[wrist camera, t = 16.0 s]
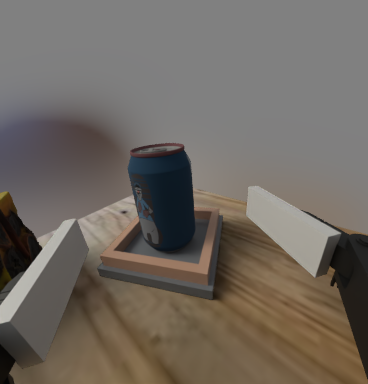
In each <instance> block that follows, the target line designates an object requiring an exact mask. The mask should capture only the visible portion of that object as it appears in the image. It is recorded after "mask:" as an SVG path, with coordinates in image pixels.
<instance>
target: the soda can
mask: <svg viewBox="0 0 368 384" xmlns="http://www.w3.org/2000/svg"><path fill="white" fill-rule="evenodd" d="M130 155H131V159H130V162H129V166H128V173H129V177H130V181H131V186H132V190H133V195H134V199H135V203H136V208H137V212H138V217H139V221H140V225H141V230H142V234H143V238H144V240H145V242H146V243H147V244H148V245H150V246H151V247H152V248H154V249H155V250H157V251H159V252H165V253H169V252H175V251H178V250H180V249H182V248H184V247H185V246H186V245H187V244H188V243H189V242H190V240H191V239H192V237H193V236H194V233H195V230H196V227H195V213H194V199H193V187H192V173H191V161H190V159H189V157H188V155H187V154H186V152H185V151H184V145H183V144H176V143H165V144H155V145H148V146H143V147H139V148H135V149H133V150H131V151H130Z"/></svg>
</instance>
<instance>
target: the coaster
mask: <svg viewBox="0 0 368 384" xmlns="http://www.w3.org/2000/svg"><path fill="white" fill-rule="evenodd" d="M194 213H195V227H196V230H195V233H194V236H193V237H192V239H191V240H190V242H189V243H188V244H187V245H186V246H185V247H184V248H182V249H180V250H178V251H175V252H169V253H165V252H159V251H157V250H155V249H154V248H152V247H151V246H150V245H148V244H147V243H146V242H145V240H144V238H143V234H142V230H141V225H140V221H139V217H138V216H137V217H136V218H135V219H134V220H133V221H132V222H131V223H130V224H129V225H128V227H127V228H126V229H125V230H124V231H123V232H122V233H121V234H120V235H119V236H118V237H117V238H116V239H115V240H114V241H113V242H112V243H111V244H110V246H109V247H108V248H107V249H106V250H105V251H104V252H103V253H102V254H101V255H100V257H101V260H102V263H101V264H100V266H99V267H98V268H97V269H98V272H99V274H100V276H104V277H108V278H113V279H118V280H122V281H127V282H131V283H136V284H141V285H145V286H150V287H155V288H159V289H164V290H168V291H173V292H178V293H182V294H187V295H192V296H196V297H201V298H205V299H210V300H213V294H214V286H215V278H216V270H217V263H218V255H219V247H220V240H221V232H222V224H223V215H219V209H217V208H202V207H194Z"/></svg>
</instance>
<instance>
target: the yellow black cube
mask: <svg viewBox="0 0 368 384" xmlns="http://www.w3.org/2000/svg"><path fill="white" fill-rule="evenodd" d="M41 251H42V247H41V246H40V245H39V242H37V239H36V237H35V236H34V233H32V231H30V230H29V229H28V228H27V227H26V226H25V225H24V224H23V223H22V221H21V219H20V218H19V217H18V215H17V209H16V207H15V205H14V203H13V200H12V197H11V196H10V194H9V192H2V193H0V292H1V291H2V290H3V289H4V288H5V286H6V285H7V284H8V283H9V282H10V281H11V280H12V279H13V278H15V277H16V276H17V275H18V274H19V273H21V272H25V271H27V269H28V268H29V267H30V265H31V264H32V263H33V261H34V260H35V259H36V257H37V256H38V255H39V253H40V252H41Z"/></svg>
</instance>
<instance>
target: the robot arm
mask: <svg viewBox="0 0 368 384" xmlns="http://www.w3.org/2000/svg"><path fill="white" fill-rule="evenodd" d="M246 216H247V217H248V218H250V219H251V220H252V221H253V222H254V223H255V224H256V225H257V226H258V227H260V228H261V229H262V230H263V231H264V232H265V233H266V234H267V235H268V236H269V237H271V238H272V239H273V240H274V241H275V242H276V243H277V244H278V245H279V246H281V247H282V248H283V249H284V250H285V251H286V252H287V253H288V254H289V255H290V256H292V257H293V258H294V259H295V260H296V261H297V262H298V263H299V264H300V265H302V266H303V267H304V268H305V269H306V270H307V271H308V272H309V273H310V274H311V275H313V276H314V277H315V278H316V277H319V276H322V275H325V274H327V272H328V269H329V266H331V267H332V268H334V269H335V272H334V275H333V278H332V280H331V286H334V283H335V282H336V283H337V288H338V289H339V292H340V295H341V298H342V301H343V304H344V307H345V311H346V314H347V317H348V320H349V323H350V326H351V329H352V332H353V336H354V339H355V342H356V345H357V348H358V351H359V354H360V357H361V360H362V364H363V367H364V370H365V373H366V376H367V379H368V236H366V235H362V234H351V235H349V234H347V233H345V232H343V231H342V230H340V229H338V228H336V227H334V226H332V225H331V224H329V223H327V222H324V221H323V220H322V219H320V218H317V217H316V216H314V215H312V214H311V213H309V212H305V211H303V210H299V209H297V208H295V207H294V206H292V205H290V204H289V203H287V202H285V201H283V200H281V199H280V198H278V197H276V196H274V195H273V194H271V193H269V192H267V191H266V190H264V189H262V188H260V187H258V186H252V187H249V188H248V200H247V213H246ZM88 250H89V249H88V246H87V244H86V241H85V239H84V236H83V234H82V231H81V229H80V226H79V224H78V222H77V219H72V220H66V221H64V222H63V223H62V224H61V226H60V227H59V228H58V230H57V231H56V232H55V234H54V235H53V236H52V238H51V239H50V240H49V241H48V243H47V244H46V245H45V247H44V248H43V249H42V251H41V252H40V253H39V255H38V256H37V257H36V259H35V260H34V261H33V263H32V264H31V265H30V267H29V268H28V269H27V271H25V272H21V273H19V274H18V275H17V276H16V277H15V278H13V279H12V280H11V281H10V282H9V283H8V284H7V285H6V286H5V288H4V289H3V290H2V291H1V292H0V384H14V380H13V378H12V376H11V375H10V374H9V372H10V371H11V369H12V367H13V365H14V363H15V361H16V362H17V364H18V365H19V366H20V367H21V368H22V369H23V368H26V367H30V366H33V365H36V364H39V363H42V362H44V361H45V359H46V356H47V354H48V351H49V349H50V346H51V343H52V341H53V338H54V336H55V333H56V331H57V328H58V326H59V323H60V321H61V318H62V316H63V313H64V311H65V308H66V306H67V303H68V301H69V298H70V296H71V293H72V291H73V288H74V286H75V283H76V281H77V278H78V276H79V273H80V271H81V268H82V266H83V263H84V261H85V258H86V255H87V253H88Z"/></svg>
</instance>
